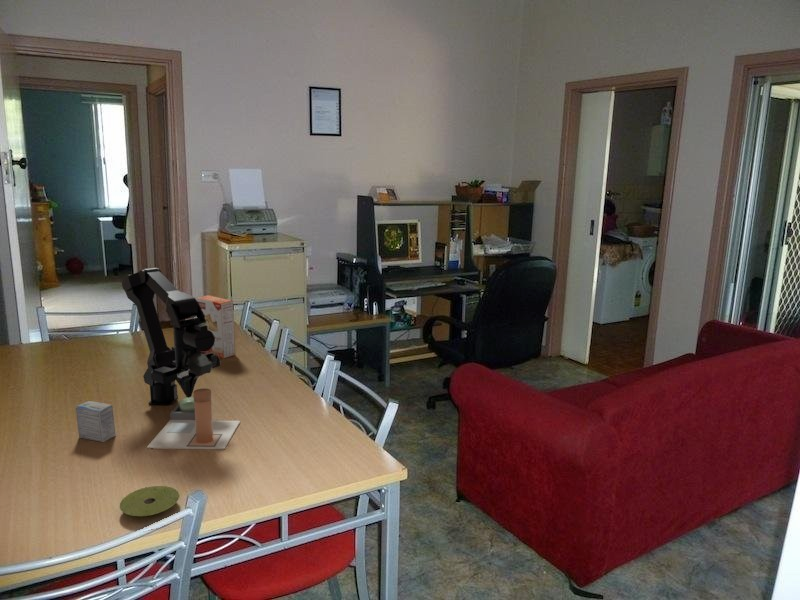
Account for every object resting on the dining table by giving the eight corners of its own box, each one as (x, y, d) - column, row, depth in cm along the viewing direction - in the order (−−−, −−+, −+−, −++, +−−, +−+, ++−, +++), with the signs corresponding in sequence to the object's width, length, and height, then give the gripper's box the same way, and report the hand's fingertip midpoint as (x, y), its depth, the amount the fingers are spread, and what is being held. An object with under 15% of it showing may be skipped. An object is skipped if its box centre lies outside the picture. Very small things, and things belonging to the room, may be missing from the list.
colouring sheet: (147, 448, 147) (146, 446, 147) (170, 421, 163) (170, 419, 163) (224, 449, 148) (224, 447, 148) (240, 422, 163) (240, 420, 163)
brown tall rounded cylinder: (192, 442, 150) (189, 393, 147) (202, 435, 154) (200, 387, 151) (207, 444, 149) (204, 395, 146) (216, 437, 153) (214, 389, 150)
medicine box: (116, 435, 154) (113, 404, 152) (102, 443, 150) (99, 411, 148) (92, 431, 156) (89, 399, 154) (78, 438, 152) (74, 406, 150)
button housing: (170, 421, 163) (169, 412, 163) (180, 409, 171) (179, 401, 170) (199, 421, 163) (199, 413, 163) (208, 409, 171) (208, 401, 170)
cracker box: (198, 352, 222) (195, 297, 217) (211, 348, 227) (208, 294, 222) (222, 359, 214) (220, 302, 210) (236, 355, 219) (233, 299, 214)
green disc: (138, 491, 128) (137, 483, 128) (189, 495, 127) (188, 487, 127) (108, 522, 117) (108, 513, 117) (163, 526, 116) (163, 517, 116)
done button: (177, 414, 164) (176, 404, 164) (183, 407, 169) (183, 397, 168) (195, 414, 164) (195, 404, 164) (201, 407, 169) (200, 397, 169)
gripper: (174, 357, 150) (178, 415, 154) (232, 340, 166) (234, 393, 169) (147, 349, 156) (152, 405, 160) (205, 333, 172) (208, 384, 175)
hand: (188, 397), depth 166 cm, fingers closed
